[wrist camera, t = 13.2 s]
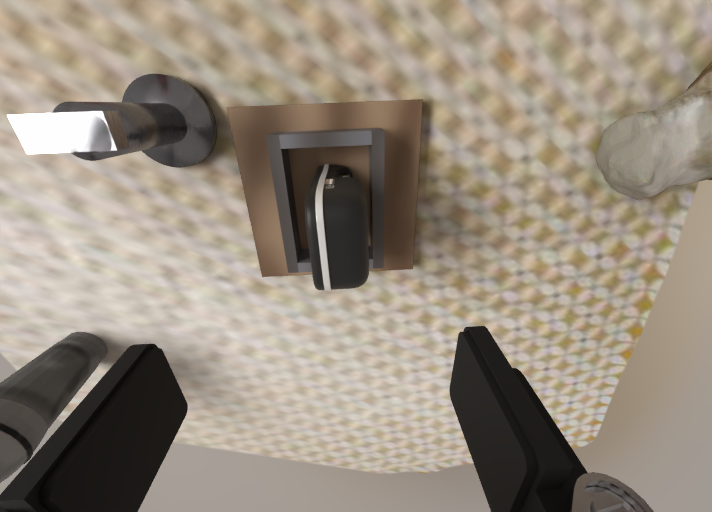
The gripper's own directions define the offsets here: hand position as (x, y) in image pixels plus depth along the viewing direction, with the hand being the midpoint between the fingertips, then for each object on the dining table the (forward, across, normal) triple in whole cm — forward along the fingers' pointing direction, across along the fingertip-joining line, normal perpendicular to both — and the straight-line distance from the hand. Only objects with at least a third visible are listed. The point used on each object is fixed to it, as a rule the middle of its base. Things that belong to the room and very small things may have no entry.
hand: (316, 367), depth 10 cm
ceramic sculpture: (+22, -30, -4) cm, 37 cm away
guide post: (+21, +13, -6) cm, 26 cm away
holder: (+21, 0, +1) cm, 21 cm away
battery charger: (+20, -1, +1) cm, 21 cm away
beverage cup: (+21, +31, +18) cm, 42 cm away
